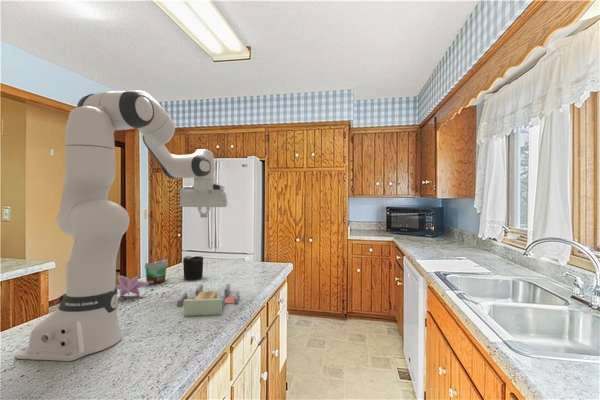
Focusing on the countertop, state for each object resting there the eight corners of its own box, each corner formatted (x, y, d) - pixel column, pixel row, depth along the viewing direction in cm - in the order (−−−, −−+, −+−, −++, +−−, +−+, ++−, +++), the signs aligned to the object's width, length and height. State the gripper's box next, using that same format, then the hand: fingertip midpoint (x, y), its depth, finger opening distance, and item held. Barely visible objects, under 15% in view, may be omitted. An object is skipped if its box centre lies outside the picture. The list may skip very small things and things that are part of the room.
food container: (156, 286, 134) (156, 264, 134) (144, 285, 135) (144, 263, 135) (173, 279, 146) (173, 258, 146) (162, 278, 147) (162, 258, 147)
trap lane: (169, 316, 100) (169, 301, 100) (188, 292, 126) (188, 280, 126) (235, 313, 103) (235, 299, 103) (240, 290, 128) (240, 278, 128)
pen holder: (186, 275, 153) (186, 256, 153) (205, 275, 153) (205, 256, 153) (180, 280, 143) (180, 259, 143) (200, 280, 144) (200, 259, 144)
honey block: (194, 313, 103) (194, 298, 103) (200, 305, 111) (200, 291, 111) (212, 313, 104) (212, 298, 104) (216, 304, 112) (216, 291, 112)
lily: (153, 298, 121) (151, 275, 125) (133, 296, 110) (133, 270, 114) (125, 307, 121) (125, 283, 125) (103, 305, 110) (103, 279, 114)
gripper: (177, 185, 129) (177, 217, 129) (226, 186, 131) (226, 217, 131) (181, 186, 135) (181, 216, 135) (228, 186, 138) (227, 216, 138)
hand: (203, 217), depth 133 cm, fingers closed
